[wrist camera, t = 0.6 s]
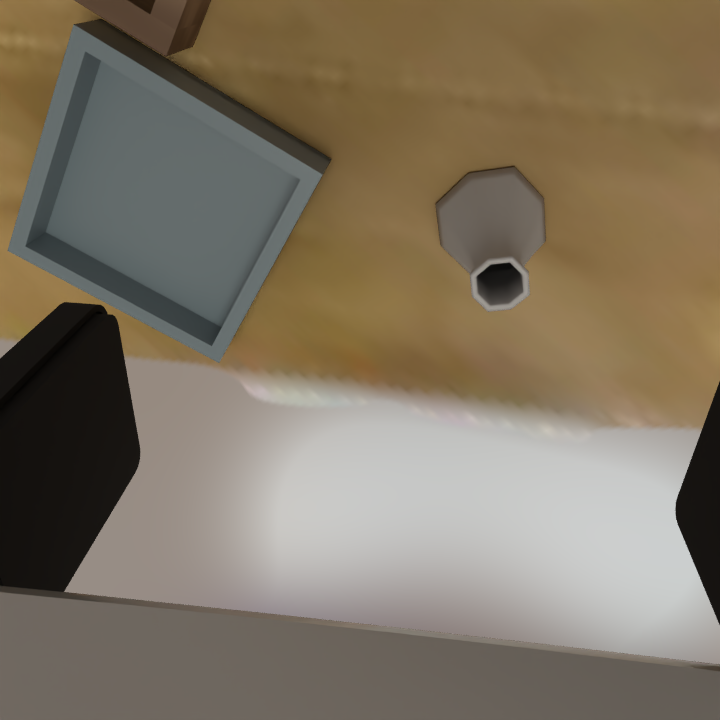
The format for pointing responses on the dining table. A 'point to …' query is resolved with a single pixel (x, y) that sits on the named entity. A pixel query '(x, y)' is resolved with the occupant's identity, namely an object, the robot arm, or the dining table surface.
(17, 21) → the dining table surface
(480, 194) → the flask
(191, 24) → the walnut tray
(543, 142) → the dining table surface
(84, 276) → the slate tray
